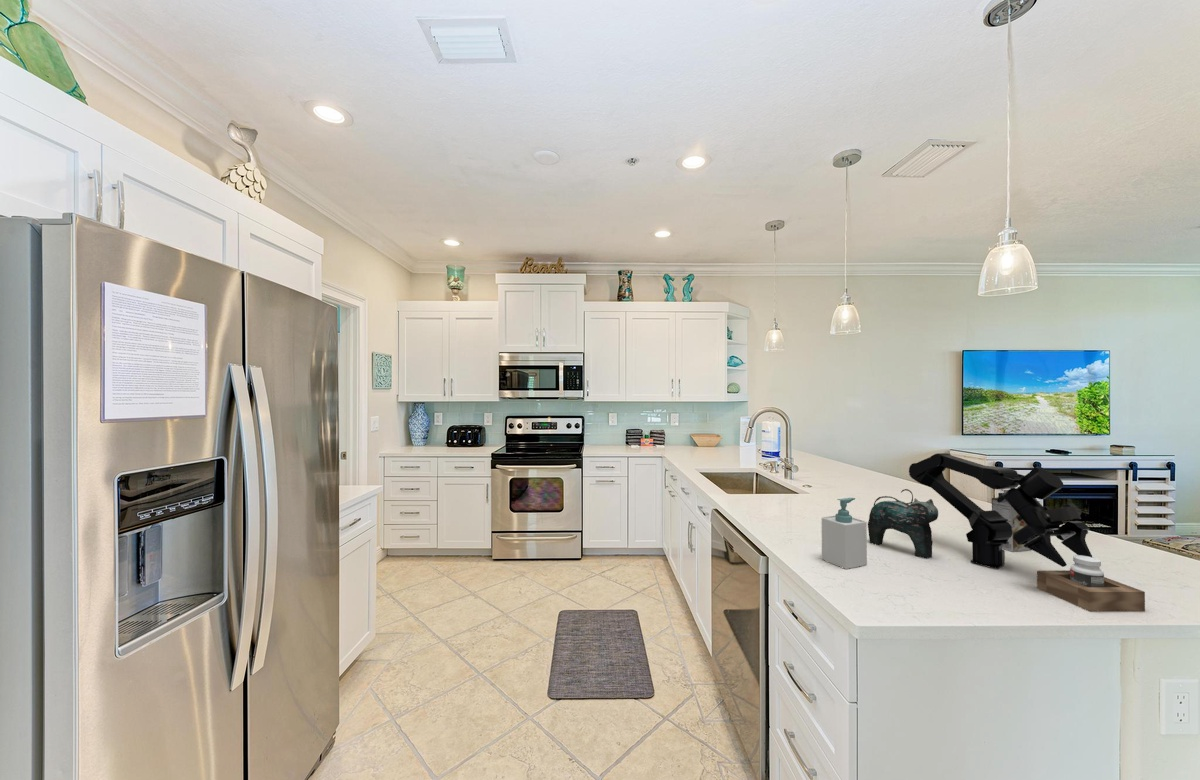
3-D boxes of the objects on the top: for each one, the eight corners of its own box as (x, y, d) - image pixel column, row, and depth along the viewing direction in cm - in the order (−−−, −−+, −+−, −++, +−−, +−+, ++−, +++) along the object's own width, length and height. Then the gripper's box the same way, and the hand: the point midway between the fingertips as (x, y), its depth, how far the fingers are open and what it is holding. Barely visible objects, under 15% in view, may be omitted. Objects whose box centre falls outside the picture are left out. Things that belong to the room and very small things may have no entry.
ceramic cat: (940, 558, 140) (939, 493, 141) (928, 562, 137) (928, 495, 138) (875, 540, 158) (874, 482, 158) (863, 543, 155) (863, 483, 155)
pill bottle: (1063, 593, 116) (1063, 554, 116) (1086, 593, 116) (1086, 554, 116) (1087, 604, 110) (1087, 562, 110) (1111, 604, 110) (1111, 562, 110)
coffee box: (1011, 543, 154) (1011, 495, 154) (1034, 549, 148) (1033, 499, 148) (991, 546, 151) (991, 497, 151) (1013, 552, 145) (1012, 501, 145)
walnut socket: (1089, 611, 106) (1089, 591, 106) (1037, 587, 119) (1036, 570, 119) (1145, 611, 106) (1144, 591, 106) (1086, 587, 119) (1086, 570, 119)
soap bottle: (867, 565, 135) (867, 500, 135) (845, 569, 132) (845, 503, 132) (842, 555, 143) (842, 494, 143) (821, 559, 140) (820, 496, 140)
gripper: (1025, 494, 117) (1079, 552, 107) (1080, 490, 121) (1137, 546, 111) (993, 516, 125) (1039, 573, 114) (1045, 512, 129) (1095, 566, 119)
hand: (1078, 564), depth 114 cm, fingers open, 9 cm apart
